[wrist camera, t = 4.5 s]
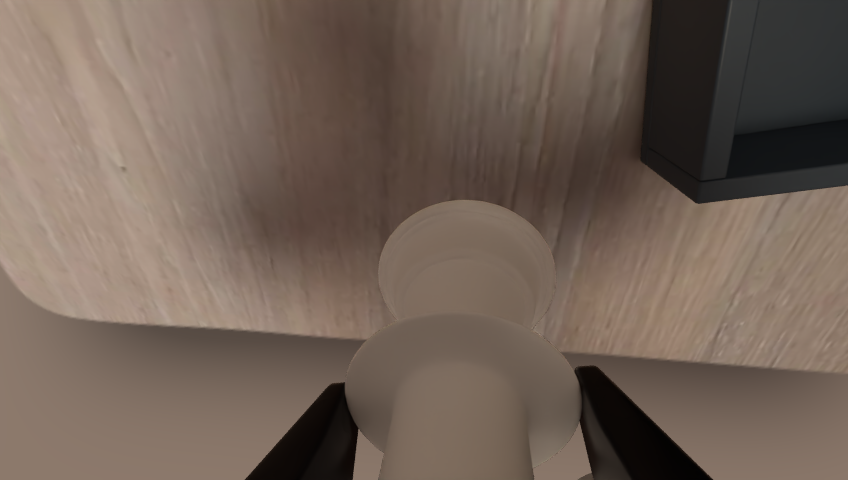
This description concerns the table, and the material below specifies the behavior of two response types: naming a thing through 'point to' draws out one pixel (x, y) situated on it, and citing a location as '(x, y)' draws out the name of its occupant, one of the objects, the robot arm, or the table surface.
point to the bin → (747, 97)
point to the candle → (464, 351)
